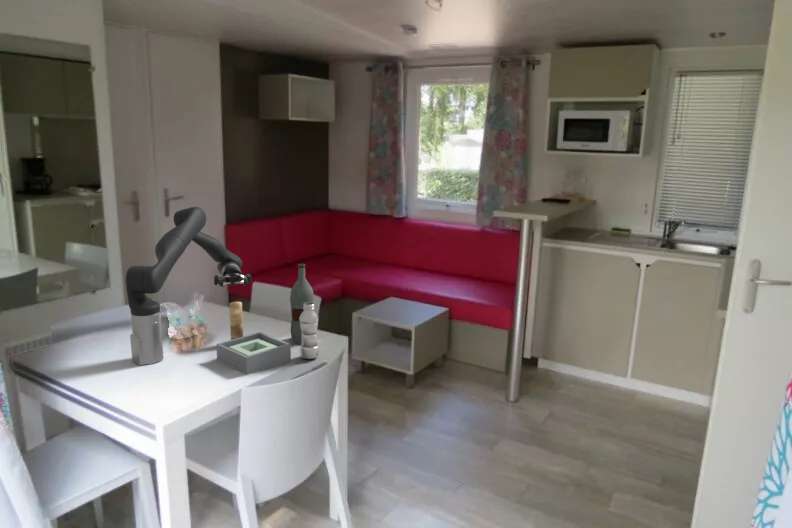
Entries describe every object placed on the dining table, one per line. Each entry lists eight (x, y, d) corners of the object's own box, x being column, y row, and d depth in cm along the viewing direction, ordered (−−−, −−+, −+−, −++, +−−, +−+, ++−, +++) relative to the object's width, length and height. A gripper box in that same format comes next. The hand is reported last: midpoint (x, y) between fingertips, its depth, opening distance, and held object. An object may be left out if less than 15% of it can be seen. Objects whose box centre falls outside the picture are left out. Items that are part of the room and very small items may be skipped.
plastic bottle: (315, 362, 198) (315, 307, 194) (297, 360, 199) (296, 305, 195) (321, 355, 204) (321, 302, 200) (303, 353, 205) (303, 300, 201)
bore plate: (249, 367, 190) (249, 355, 189) (229, 357, 197) (228, 346, 197) (278, 357, 199) (278, 346, 198) (258, 348, 206) (257, 338, 205)
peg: (235, 347, 210) (233, 305, 207) (228, 344, 213) (227, 303, 210) (245, 344, 214) (244, 303, 210) (239, 341, 217) (237, 300, 213)
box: (247, 374, 186) (246, 357, 185) (217, 360, 197) (216, 344, 196) (290, 360, 199) (290, 344, 198) (260, 347, 211) (259, 332, 209)
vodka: (297, 335, 225) (295, 261, 218) (318, 337, 222) (317, 263, 216) (286, 342, 216) (284, 266, 210) (308, 345, 214) (307, 268, 207)
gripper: (213, 266, 231) (213, 275, 216) (248, 264, 236) (252, 273, 221) (214, 283, 233) (214, 294, 218) (249, 281, 237) (252, 291, 222)
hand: (233, 283), depth 219 cm, fingers open, 8 cm apart
